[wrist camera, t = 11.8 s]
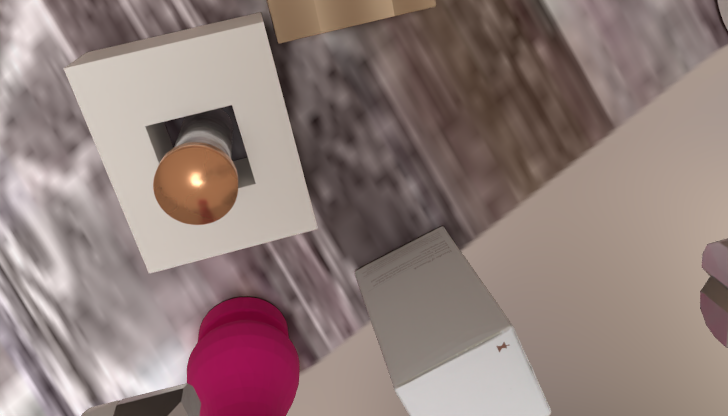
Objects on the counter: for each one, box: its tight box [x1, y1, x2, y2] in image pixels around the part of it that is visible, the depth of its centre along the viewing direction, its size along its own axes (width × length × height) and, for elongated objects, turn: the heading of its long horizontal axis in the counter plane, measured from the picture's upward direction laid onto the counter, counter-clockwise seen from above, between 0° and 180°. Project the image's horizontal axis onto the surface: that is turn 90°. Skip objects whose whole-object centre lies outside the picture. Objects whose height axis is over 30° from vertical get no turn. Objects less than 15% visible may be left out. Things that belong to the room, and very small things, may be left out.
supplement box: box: [355, 226, 551, 416], centre depth 38 cm, size 7×7×13 cm
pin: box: [153, 108, 238, 225], centre depth 32 cm, size 4×4×10 cm
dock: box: [64, 12, 318, 274], centre depth 35 cm, size 10×12×5 cm
